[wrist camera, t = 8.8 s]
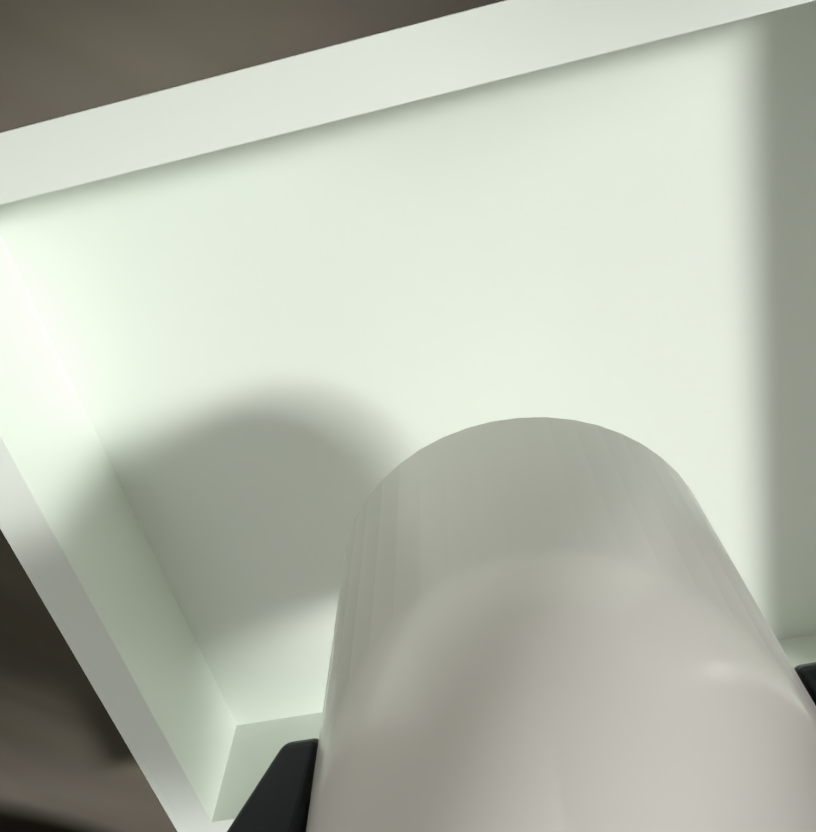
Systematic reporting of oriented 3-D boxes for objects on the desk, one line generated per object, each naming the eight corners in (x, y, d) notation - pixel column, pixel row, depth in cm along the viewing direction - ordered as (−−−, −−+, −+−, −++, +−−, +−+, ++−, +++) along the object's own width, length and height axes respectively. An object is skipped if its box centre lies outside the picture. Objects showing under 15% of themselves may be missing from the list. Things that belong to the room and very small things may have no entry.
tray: (971, -123, 11) (1157, -171, 8) (905, 625, 17) (996, 739, 14) (-68, 150, 12) (-201, 186, 10) (221, 732, 19) (188, 850, 16)
